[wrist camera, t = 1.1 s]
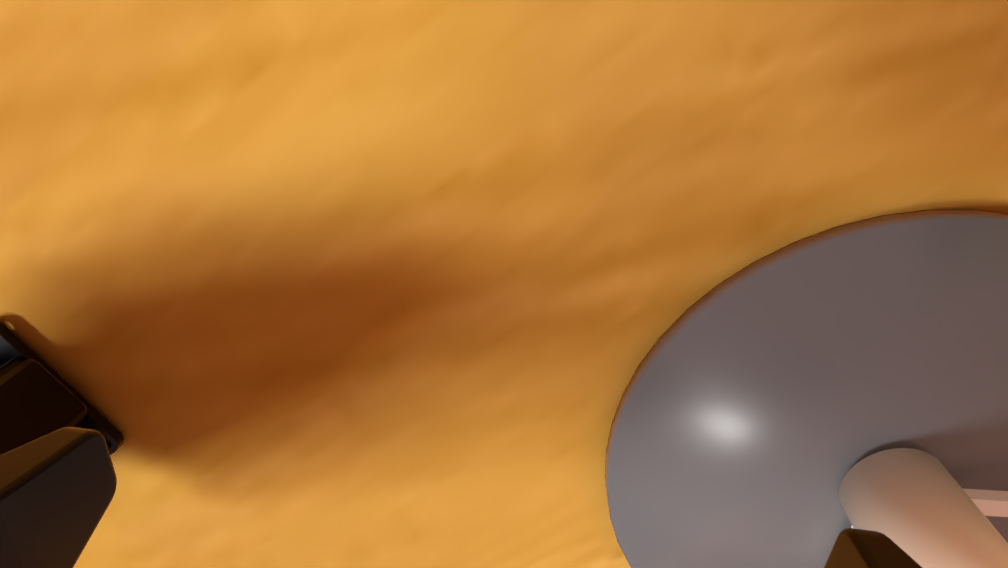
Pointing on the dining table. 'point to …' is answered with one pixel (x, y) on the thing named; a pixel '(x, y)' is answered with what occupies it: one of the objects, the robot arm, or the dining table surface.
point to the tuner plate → (814, 391)
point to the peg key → (925, 510)
